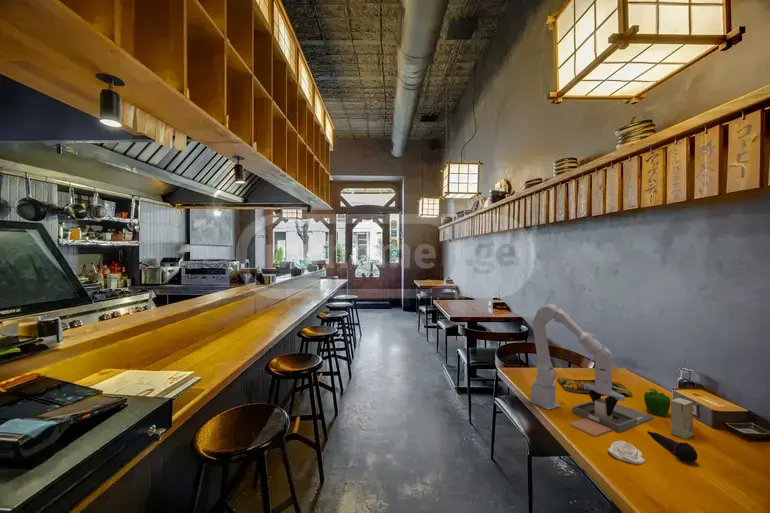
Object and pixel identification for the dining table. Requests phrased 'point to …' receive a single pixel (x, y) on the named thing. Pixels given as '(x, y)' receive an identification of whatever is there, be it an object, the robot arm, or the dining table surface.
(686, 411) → the skincare box
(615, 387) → the prepared meal
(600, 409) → the block
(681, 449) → the microphone
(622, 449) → the rose
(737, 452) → the dining table surface
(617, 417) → the equipment case
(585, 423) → the terracotta tile
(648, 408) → the bell pepper
